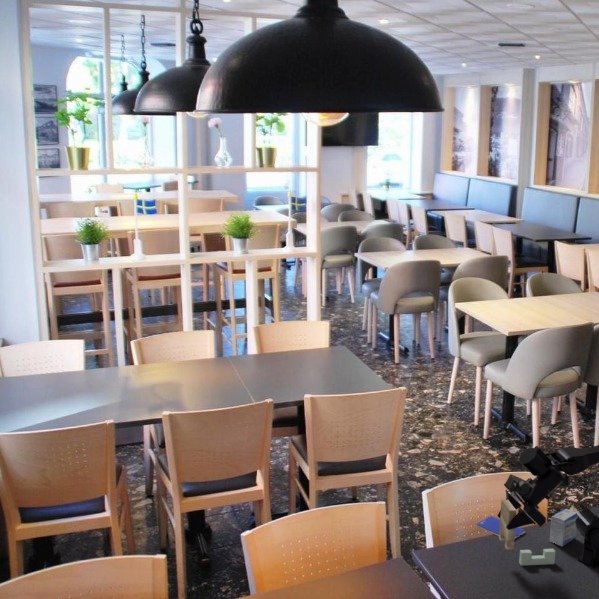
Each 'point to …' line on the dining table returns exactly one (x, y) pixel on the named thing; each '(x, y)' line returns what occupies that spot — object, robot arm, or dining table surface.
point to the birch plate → (505, 517)
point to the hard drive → (496, 526)
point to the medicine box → (563, 527)
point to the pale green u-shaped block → (537, 557)
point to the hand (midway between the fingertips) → (502, 522)
